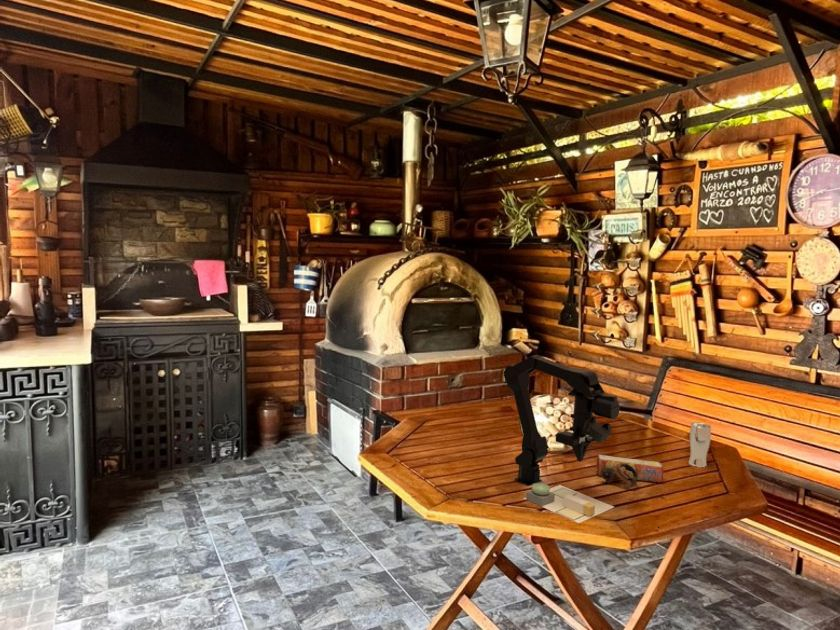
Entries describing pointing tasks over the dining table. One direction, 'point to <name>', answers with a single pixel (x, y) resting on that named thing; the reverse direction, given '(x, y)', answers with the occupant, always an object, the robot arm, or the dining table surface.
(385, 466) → the dining table surface
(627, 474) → the snack package
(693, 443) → the beer glass
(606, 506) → the picture board
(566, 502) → the marker
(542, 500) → the button housing
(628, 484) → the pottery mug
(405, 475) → the dining table surface
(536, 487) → the button
